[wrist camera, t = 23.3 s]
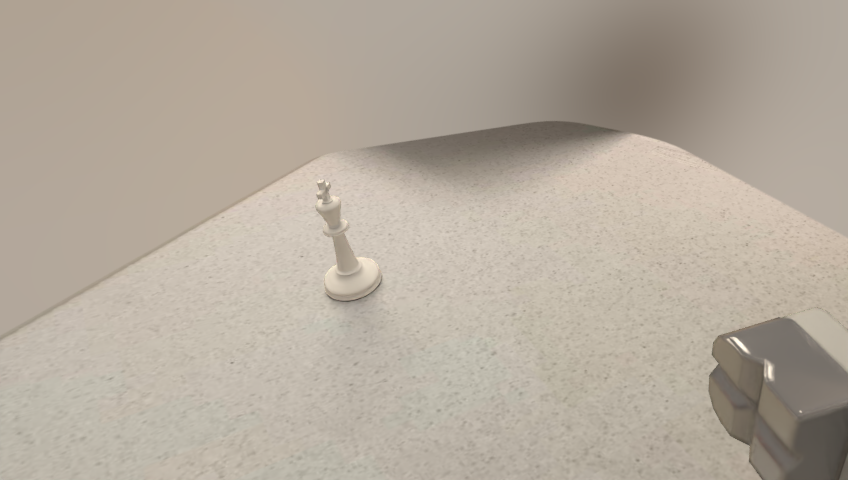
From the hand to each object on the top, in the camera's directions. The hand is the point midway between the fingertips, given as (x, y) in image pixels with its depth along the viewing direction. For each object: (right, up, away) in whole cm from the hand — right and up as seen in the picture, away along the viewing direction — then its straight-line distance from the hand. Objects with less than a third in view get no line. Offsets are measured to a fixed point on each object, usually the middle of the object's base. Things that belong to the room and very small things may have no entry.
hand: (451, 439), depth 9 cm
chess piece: (-6, -1, +46) cm, 46 cm away
